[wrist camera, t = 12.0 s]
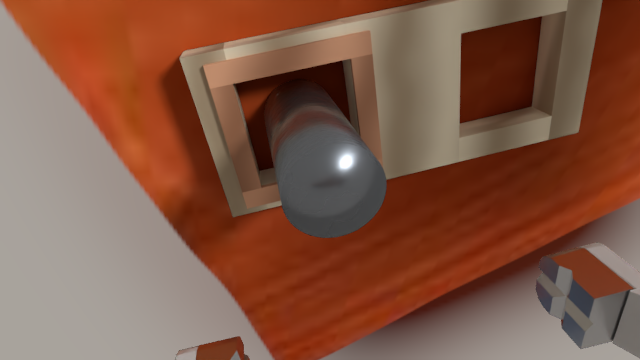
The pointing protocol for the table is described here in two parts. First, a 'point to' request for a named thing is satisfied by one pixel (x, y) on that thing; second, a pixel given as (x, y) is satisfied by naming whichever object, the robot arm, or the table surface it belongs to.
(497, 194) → the table surface
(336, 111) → the steel peg
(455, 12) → the beige flat frame
